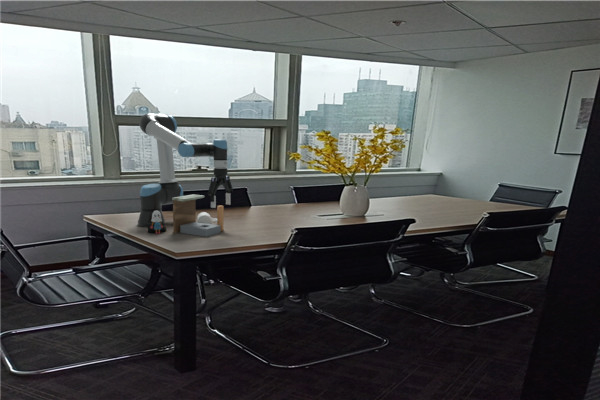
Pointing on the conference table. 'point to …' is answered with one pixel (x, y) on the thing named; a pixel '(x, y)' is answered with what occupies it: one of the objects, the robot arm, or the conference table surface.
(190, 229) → the socket board
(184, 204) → the panel
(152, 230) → the figurine
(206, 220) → the mug
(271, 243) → the conference table surface
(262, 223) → the conference table surface
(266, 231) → the conference table surface
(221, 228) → the peg
